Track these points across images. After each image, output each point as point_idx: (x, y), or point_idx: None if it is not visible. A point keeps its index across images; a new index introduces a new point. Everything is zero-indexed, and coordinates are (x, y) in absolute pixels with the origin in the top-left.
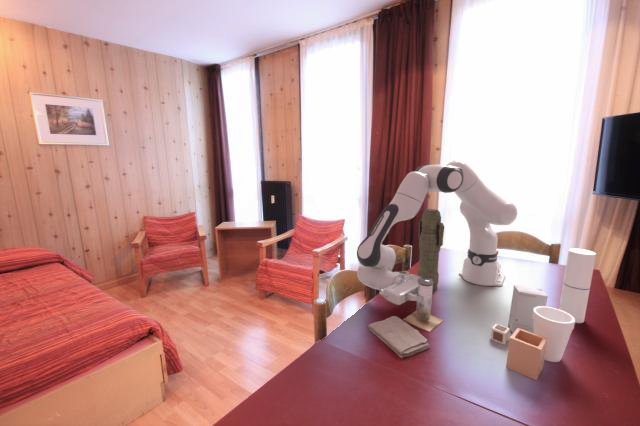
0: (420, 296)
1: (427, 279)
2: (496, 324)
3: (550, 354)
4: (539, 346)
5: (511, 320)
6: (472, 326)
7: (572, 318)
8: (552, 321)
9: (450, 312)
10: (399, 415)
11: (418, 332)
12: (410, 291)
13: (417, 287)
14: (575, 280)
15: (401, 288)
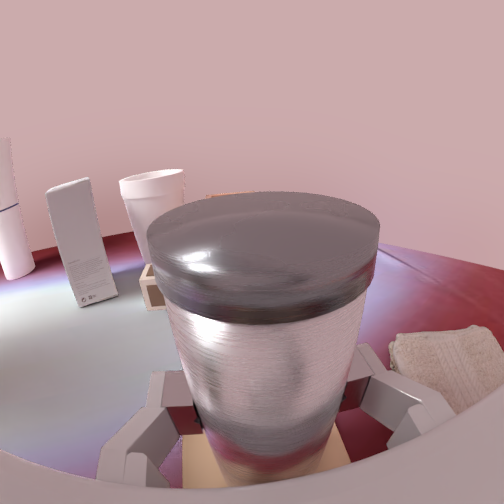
0: (355, 356)
1: (217, 215)
2: (145, 277)
3: None
4: (245, 192)
5: (96, 276)
6: (143, 351)
7: (149, 172)
8: (183, 170)
9: (85, 430)
10: (495, 271)
11: (405, 374)
12: (412, 440)
13: (220, 488)
14: (12, 190)
15: (502, 491)
